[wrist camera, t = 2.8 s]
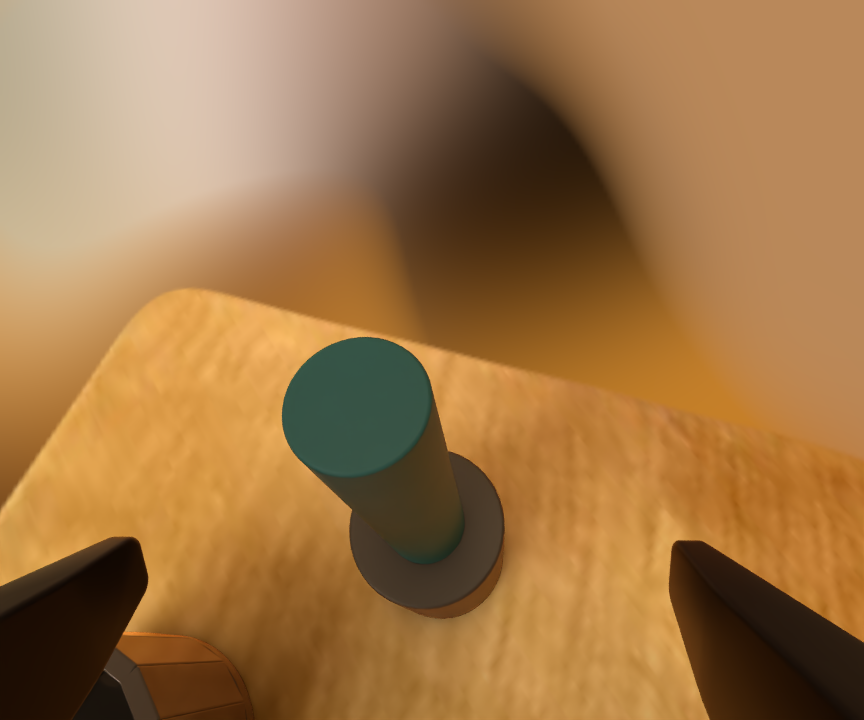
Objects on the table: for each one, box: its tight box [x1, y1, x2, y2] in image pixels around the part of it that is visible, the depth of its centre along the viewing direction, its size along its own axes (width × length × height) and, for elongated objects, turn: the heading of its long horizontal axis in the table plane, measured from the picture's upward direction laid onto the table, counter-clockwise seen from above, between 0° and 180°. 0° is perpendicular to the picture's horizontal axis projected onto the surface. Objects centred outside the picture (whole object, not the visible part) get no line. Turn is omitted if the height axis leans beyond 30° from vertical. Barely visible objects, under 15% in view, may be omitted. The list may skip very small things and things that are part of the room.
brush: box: [282, 337, 505, 619], centre depth 12 cm, size 4×4×12 cm
